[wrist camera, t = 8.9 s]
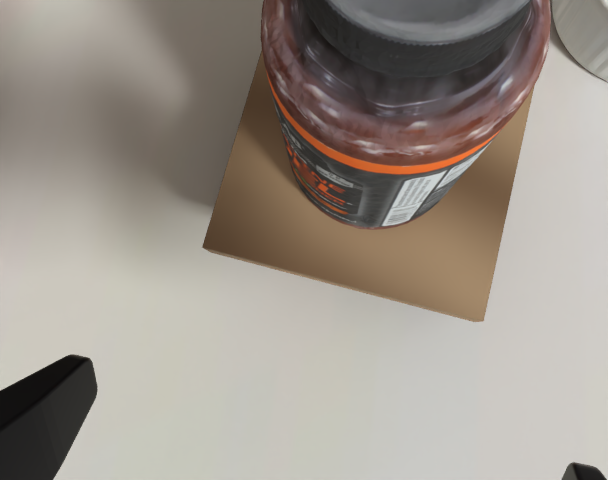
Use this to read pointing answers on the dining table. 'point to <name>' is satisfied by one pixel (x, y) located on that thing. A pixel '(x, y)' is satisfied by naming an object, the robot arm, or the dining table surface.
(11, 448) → the robot arm
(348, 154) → the supplement bottle
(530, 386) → the dining table surface
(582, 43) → the ramekin
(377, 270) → the stool
